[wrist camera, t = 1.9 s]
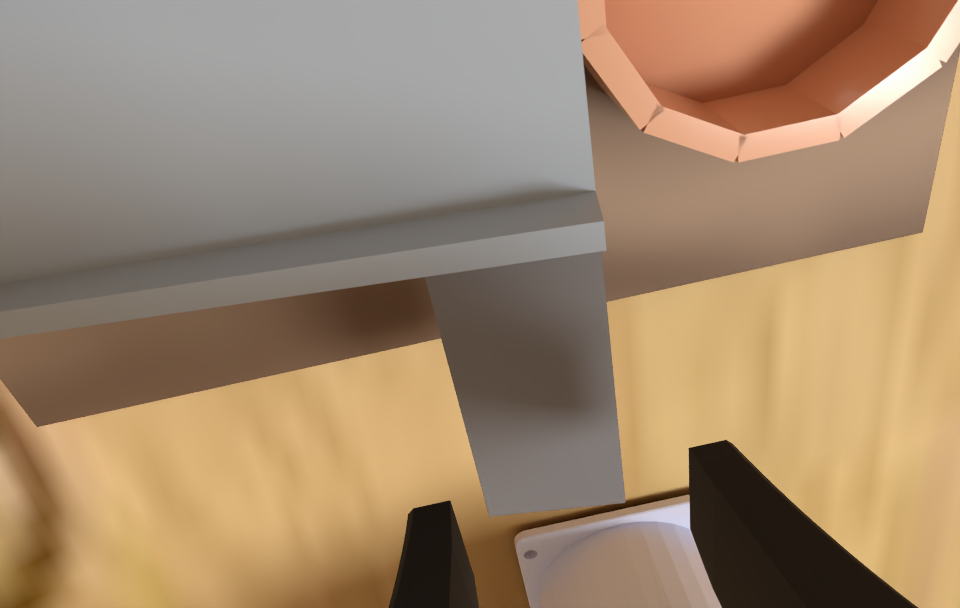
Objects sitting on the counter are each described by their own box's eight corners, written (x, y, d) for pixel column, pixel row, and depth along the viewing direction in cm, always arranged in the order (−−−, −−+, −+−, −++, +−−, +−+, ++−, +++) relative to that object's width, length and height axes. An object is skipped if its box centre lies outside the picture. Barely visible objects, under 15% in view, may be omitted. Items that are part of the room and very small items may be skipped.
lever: (609, 418, 17) (637, 563, 14) (59, 482, 19) (-37, 625, 15) (540, -235, 10) (564, -270, 6) (-342, -31, 12) (-687, 26, 8)
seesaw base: (900, 216, 20) (1014, 296, 17) (51, 403, 20) (-22, 524, 17) (1024, -468, 12) (1293, -603, 9) (-356, -160, 12) (-663, -167, 9)
